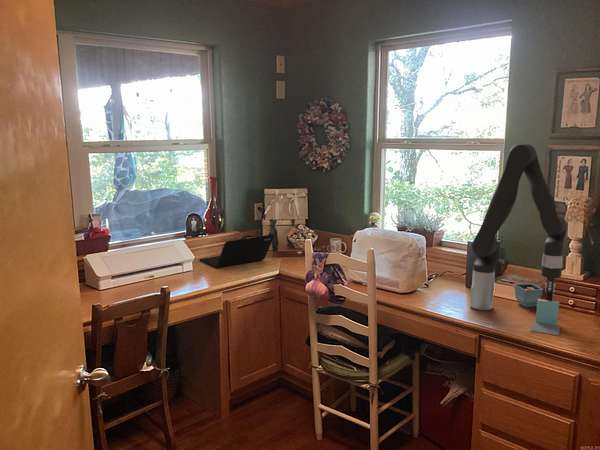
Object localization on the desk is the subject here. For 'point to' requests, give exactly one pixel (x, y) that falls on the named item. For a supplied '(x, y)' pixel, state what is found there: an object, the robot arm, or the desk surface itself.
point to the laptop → (241, 251)
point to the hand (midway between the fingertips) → (548, 305)
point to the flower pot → (527, 295)
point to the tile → (547, 312)
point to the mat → (545, 329)
